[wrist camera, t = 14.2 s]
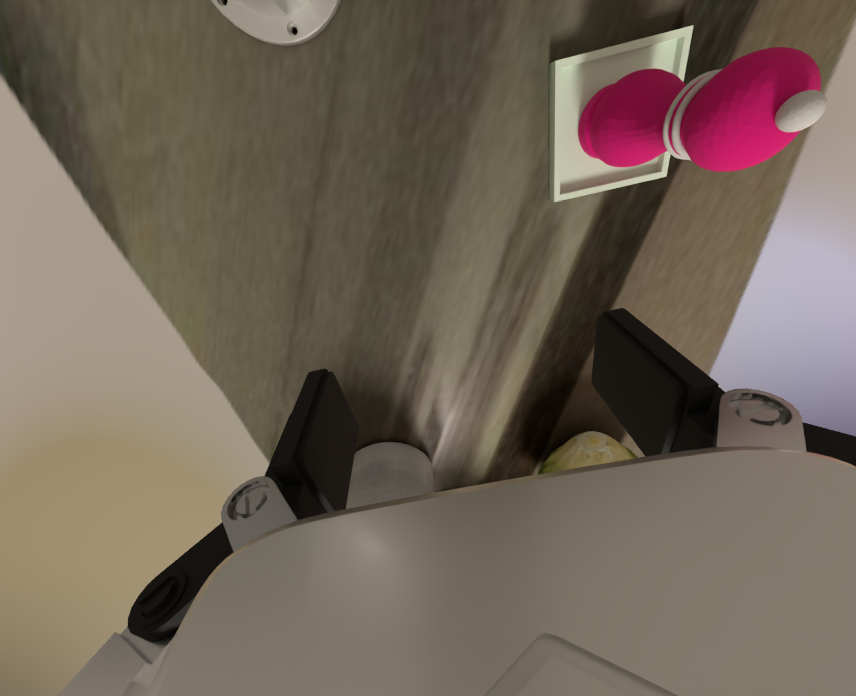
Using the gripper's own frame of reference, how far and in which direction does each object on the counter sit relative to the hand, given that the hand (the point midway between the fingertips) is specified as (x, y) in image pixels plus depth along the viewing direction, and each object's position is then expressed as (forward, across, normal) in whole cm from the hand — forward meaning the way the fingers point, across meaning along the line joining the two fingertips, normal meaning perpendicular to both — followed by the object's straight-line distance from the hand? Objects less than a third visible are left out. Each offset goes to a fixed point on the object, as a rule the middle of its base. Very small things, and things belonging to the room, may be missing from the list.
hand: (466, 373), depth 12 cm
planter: (+31, +16, +43) cm, 55 cm away
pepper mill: (+30, -20, -4) cm, 36 cm away
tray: (+30, -20, -4) cm, 37 cm away
